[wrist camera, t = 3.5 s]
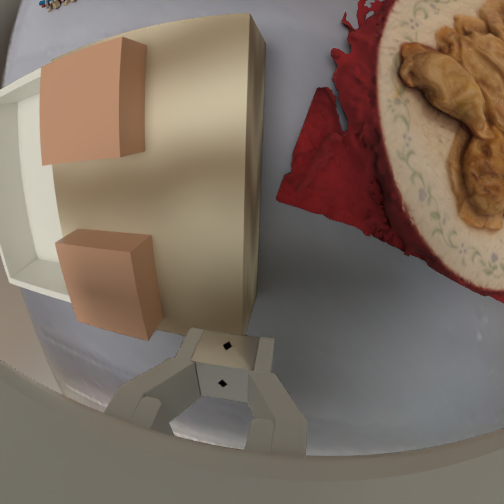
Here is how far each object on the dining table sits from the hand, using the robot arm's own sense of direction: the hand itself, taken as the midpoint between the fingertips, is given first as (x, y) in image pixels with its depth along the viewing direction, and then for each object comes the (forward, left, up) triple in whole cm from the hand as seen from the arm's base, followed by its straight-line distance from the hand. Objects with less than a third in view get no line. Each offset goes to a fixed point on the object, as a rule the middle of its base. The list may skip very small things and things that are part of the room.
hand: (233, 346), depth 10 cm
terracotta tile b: (+9, +7, -4) cm, 12 cm away
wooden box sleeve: (+4, +6, -9) cm, 12 cm away
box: (+4, +17, -9) cm, 19 cm away
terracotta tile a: (0, +7, -4) cm, 9 cm away
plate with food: (+11, -17, -10) cm, 22 cm away
